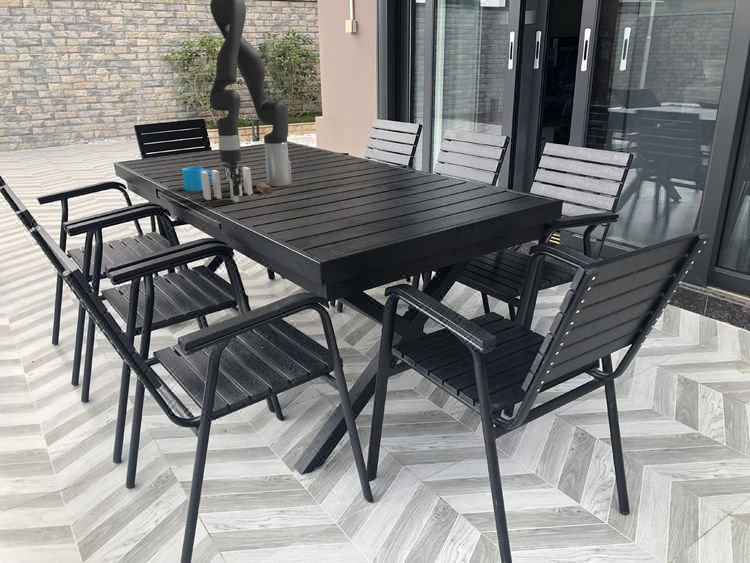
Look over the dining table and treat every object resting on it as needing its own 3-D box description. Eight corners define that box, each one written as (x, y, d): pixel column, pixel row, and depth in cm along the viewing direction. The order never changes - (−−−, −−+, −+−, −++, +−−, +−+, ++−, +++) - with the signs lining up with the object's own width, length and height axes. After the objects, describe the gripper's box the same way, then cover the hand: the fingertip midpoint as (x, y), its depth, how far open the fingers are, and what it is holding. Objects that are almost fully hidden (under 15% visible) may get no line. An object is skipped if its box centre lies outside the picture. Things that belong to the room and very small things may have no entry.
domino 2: (218, 195, 236) (215, 169, 232) (221, 198, 232) (219, 171, 228) (214, 196, 235) (211, 170, 231) (217, 198, 231) (214, 172, 227)
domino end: (248, 192, 241) (246, 166, 237) (252, 194, 237) (250, 168, 233) (244, 192, 240) (242, 167, 237) (248, 195, 236) (246, 169, 233)
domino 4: (238, 193, 239) (236, 167, 236) (242, 195, 235) (240, 169, 231) (234, 193, 238) (232, 168, 235) (238, 196, 234) (235, 170, 231)
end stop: (264, 189, 246) (263, 183, 245) (271, 193, 238) (271, 186, 237) (256, 190, 244) (256, 183, 243) (264, 194, 237) (263, 187, 236)
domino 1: (207, 197, 234) (205, 170, 230) (211, 199, 230) (208, 172, 226) (203, 197, 233) (200, 171, 230) (207, 200, 229) (204, 173, 226)
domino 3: (235, 199, 230) (232, 172, 226) (239, 201, 226) (236, 174, 222) (231, 199, 229) (228, 172, 226) (234, 202, 225) (232, 175, 222)
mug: (186, 191, 244) (183, 171, 241) (182, 188, 251) (180, 168, 248) (216, 188, 249) (214, 168, 246) (212, 184, 256) (209, 165, 253)
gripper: (245, 149, 216) (250, 196, 222) (234, 144, 228) (238, 189, 234) (224, 151, 213) (229, 199, 219) (214, 146, 225) (219, 191, 231)
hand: (234, 193), depth 227 cm, fingers open, 5 cm apart
